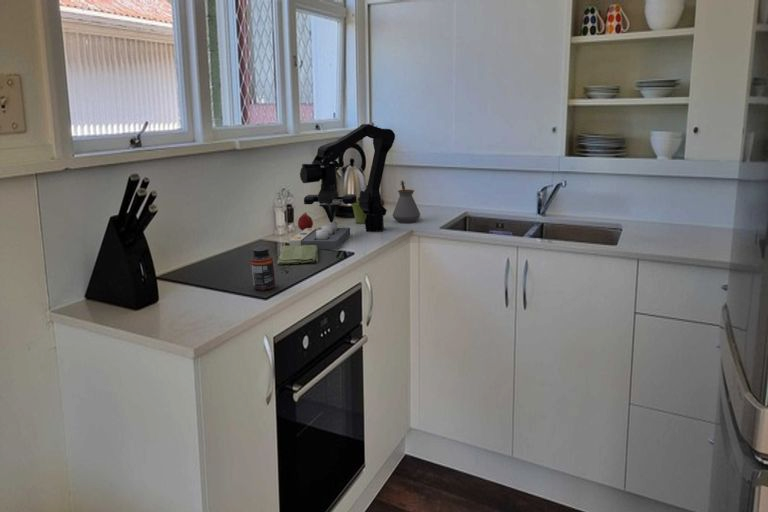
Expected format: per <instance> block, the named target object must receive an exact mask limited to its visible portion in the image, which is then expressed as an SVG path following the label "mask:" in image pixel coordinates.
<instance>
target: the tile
mask: <svg viewBox="0 0 768 512" xmlns="http://www.w3.org/2000/svg"><path fill="white" fill-rule="evenodd" d="M316 230H317V227H312V228H306V229H304V230H303V231H302V230H301V231H300V232H299V233H297V234H296V235H295V236H293V237H292V238H291V239H289V240H288V241H289V246H293V245H294V246H303V243H302V241H303V240H304V239H306V238H307V237H308V236H309V235H311V234H312V233H313V232H314V231H316Z"/></svg>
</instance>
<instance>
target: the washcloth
mask: <svg viewBox="0 0 768 512" xmlns="http://www.w3.org/2000/svg"><path fill="white" fill-rule="evenodd" d="M318 252H319V251H318V250H317V246H316V245H303V246H294V245H293V246H290V245H283V246H282V248H281V251H280V254H279V256H278V257H277V264H278V265H280V266H283V264H288V265H299V263H301V264H312V263H313V264H315V263H318V262H319V253H318Z"/></svg>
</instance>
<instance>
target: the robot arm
mask: <svg viewBox="0 0 768 512" xmlns="http://www.w3.org/2000/svg"><path fill="white" fill-rule="evenodd" d="M366 137H368V138H369V139H372V144H373V149H374V152H373V158H372V162H371V166H370V170H369V171H370V172H369V177H368V181H367V186H366V188H365V190H360V192H359V198H358V199H357V195H356V194H355V193H353V194H352V193H350V194H349V193H348V194H347V193H346V194H344V195H342V196H339V191H338V183H339V182H338V180H337V179H338V178H337V177H338V176H337V175H338V174H337V168H341V167H342V164H341V163H339V162H338V159H339V158H340V157H341V156H342V155H343V153H344V152H345V151H346V150H348V149H349V148H350V147H352V146H353V145H355V144H357V143H358V142H361V141H362V140H363V139H365V138H366ZM395 140H396V134H395V132H394V131H393V130H392V129H391V128H381V127H378V126H374V125H372V124H370V123H362V124H360V125H359V127H356V128H355V129H353V130H352V131H350V132H348V133H347V134H345V135H344V136H342V137H340V138H339V139H337V140H335V141H332V142H328V143H326V144H322V145H320V146H319V147H318V148H317V154H316V155H315V157H314V159H313V161H312V162H311V163H302V165H301V168H300V172H299V177H300V180H301V182H302V183H303V184H310V183H318V182H319V183H320V182H321V183H320V190H319V192H318V194H307V195H305V197H304V198H303V205H313V204H314V203H319V205H318V206H319V207H321V208H322V209H323V210H324V211H325V214H326V215H327V218H328V220H329V222H333V221H334V220H335V216H336V212H337V210H338V207H340V206H341V205H342V204H343V203H344V204H345V205H352V204H354V203H355V202H356V201H360V202H359V206H360V207H361V209H362V210H363V212H364V214H367V215H366V219H365V224H364V226H365V227H364V229H365V232H383V231H384V230H385V229H386V228H385V226H384V225H385V224H384V216H386V214H387V211H388V210H387V209H386V208H385V207H384V206H383V205H382V196H381V192H380V188H381V184H382V179H383V175H384V169H385V165H386V160H387V156H388V153H389V152H390V150H391V149H392V147H393V145H394V142H395Z"/></svg>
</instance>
